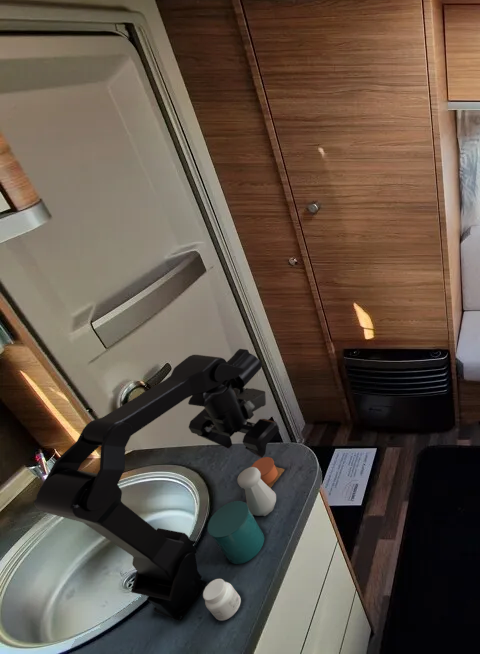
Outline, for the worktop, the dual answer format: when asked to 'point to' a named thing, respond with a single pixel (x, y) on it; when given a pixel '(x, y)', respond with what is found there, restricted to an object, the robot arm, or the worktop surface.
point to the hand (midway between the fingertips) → (246, 451)
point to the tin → (236, 532)
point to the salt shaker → (256, 492)
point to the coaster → (279, 472)
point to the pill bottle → (221, 599)
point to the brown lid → (266, 469)
